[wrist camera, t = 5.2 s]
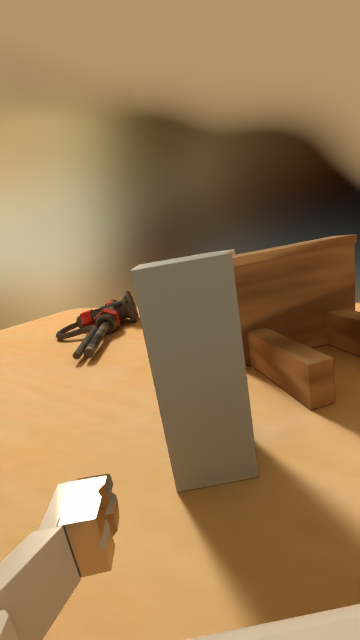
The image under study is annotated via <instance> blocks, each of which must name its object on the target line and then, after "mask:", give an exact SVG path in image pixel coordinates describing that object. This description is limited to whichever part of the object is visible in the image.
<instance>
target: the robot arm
mask: <svg viewBox="0 0 360 640" xmlns="http://www.w3.org/2000/svg"><path fill="white" fill-rule="evenodd" d="M112 486H113V482H112V479H111V476H110V475H109V474H103V475H97V476H91V477H85V478H79V479H74V480H68V481H62V482H61V483H59V484H58V486H57V488H56V490H55V492H54V494H53V497H52V499H51V501H50V503H49V506H48V508H47V510H46V513H45V515H44V517H43V519H42V522H41V524H40V526H39V528H38V531H33V532H31V533H30V534H29V535H28V536H27V537H26V538H25V539H24V540H23V541H22V542H21V543H20V544H19V545H18V546H17V547H16V548H15V549H14V550H13V551H12V552H11V553H10V554H9V555H8V556H6V557H5V558H4V559H3V560H2V561H1V562H0V640H43V638H44V637H45V635H46V633H47V632H48V630H49V629H50V627H51V626H52V624H53V622H54V621H55V619H56V618H57V616H58V615H59V613H60V611H61V610H62V608H63V607H64V605H65V604H66V602H67V601H68V599H69V597H70V596H71V594H72V593H73V591H74V590H75V588H76V586H77V585H78V583H79V582H80V580H81V579H80V578H81V577H86V576H90V575H94V574H98V573H103V572H107V571H111V569H112V563H113V557H114V550H115V543H114V540H113V536H114V535H115V533H116V532H117V531H118V524H119V507H118V501H117V497H116V495H115V494H114V493H112V492H111V491H112ZM185 640H360V604H356V605H351V606H347V607H342V608H337V609H332V610H327V611H322V612H317V613H313V614H308V615H303V616H298V617H293V618H288V619H284V620H279V621H274V622H269V623H264V624H259V625H254V626H249V627H244V628H239V629H234V630H229V631H224V632H219V633H215V634H210V635H205V636H200V637H195V638H190V639H185Z"/></svg>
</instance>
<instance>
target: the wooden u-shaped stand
mask: <svg viewBox="0 0 360 640" xmlns="http://www.w3.org/2000/svg"><path fill="white" fill-rule="evenodd" d="M355 242H357V235H356V234H354V235H343V236H332V237H327V238H322V239H317V240H312V241H306V242H301V243H295V244H290V245H285V246H279V247H274V248H270V249H263V250H258V251H253V252H247V253H243V254H237V255H232V259H233V267H234V276H235V284H236V292H237V301H238V309H239V317H240V326H241V334H242V342H243V351H244V359H245V366H248V365H252V366H253V367H254V368H256V369H257V370H258V371H260V372H261V373H262V374H264V375H265V376H266V377H268V378H269V379H270V380H272V381H273V382H274V383H276V384H277V385H278V386H279V387H281V388H282V389H283V390H285V391H286V392H287V393H289V394H290V395H291V396H293V397H294V398H295V399H297V400H298V401H299V402H301V403H302V404H303V405H305V406H306V407H307V408H308V409H310V410H313V409H316V408H320V407H323V406H326V405H329V404H332V403H335V388H334V359H333V357H330V356H328V355H326V354H324V353H321V352H319V351H317V350H315V349H313V348H315V347H319V346H322V345H326V344H329V345H332V346H334V347H337V348H339V349H342V350H344V351H347V352H349V353H352V354H354V355H357V356H359V357H360V312H357V311H355V271H354V270H355V265H354V264H355V263H354V243H355Z"/></svg>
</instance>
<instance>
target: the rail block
mask: <svg viewBox="0 0 360 640" xmlns="http://www.w3.org/2000/svg"><path fill="white" fill-rule="evenodd" d="M130 272H131V277H132V281H133V286H134V291H135V296H136V300H137V305H138V310H139V315H140V319H141V324H142V329H143V334H144V338H145V343H146V348H147V352H148V357H149V362H150V367H151V371H152V376H153V381H154V386H155V390H156V395H157V400H158V405H159V409H160V414H161V419H162V423H163V428H164V433H165V438H166V442H167V447H168V452H169V457H170V461H171V466H172V471H173V476H174V480H175V485H176V490H177V492H182V491H187V490H192V489H198V488H203V487H208V486H213V485H218V484H224V483H229V482H234V481H239V480H244V479H249V478H255V477H259V476H258V467H257V459H256V451H255V442H254V434H253V426H252V417H251V409H250V401H249V392H248V384H247V376H246V367H245V359H244V351H243V342H242V334H241V326H240V317H239V309H238V301H237V292H236V284H235V276H234V267H233V259H232V253H225V252H210V253H204V254H198V255H192V256H187V257H181V258H176V259H170V260H164V261H159V262H153V263H147V264H141V265H138V266H136V267H135V268H133V269H132V270H131V271H130Z"/></svg>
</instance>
